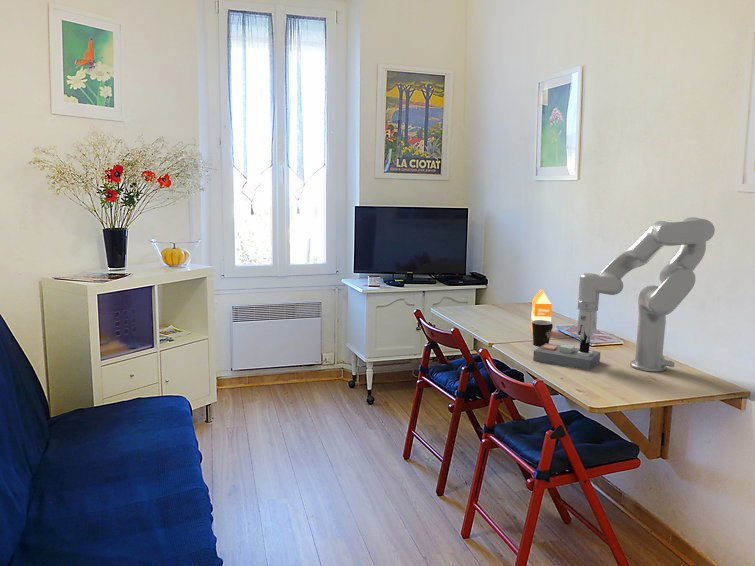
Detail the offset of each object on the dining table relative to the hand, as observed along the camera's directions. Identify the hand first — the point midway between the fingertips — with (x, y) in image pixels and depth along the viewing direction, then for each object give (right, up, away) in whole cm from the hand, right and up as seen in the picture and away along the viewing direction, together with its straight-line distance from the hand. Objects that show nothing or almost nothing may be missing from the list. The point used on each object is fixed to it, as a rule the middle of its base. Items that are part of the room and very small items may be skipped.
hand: (584, 351), depth 237 cm
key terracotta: (-11, -2, +8) cm, 14 cm away
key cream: (0, -3, +1) cm, 3 cm away
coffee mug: (-8, 0, +29) cm, 30 cm away
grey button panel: (-5, -4, +5) cm, 8 cm away
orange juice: (-4, +3, +50) cm, 51 cm away
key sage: (-5, -1, +4) cm, 7 cm away
